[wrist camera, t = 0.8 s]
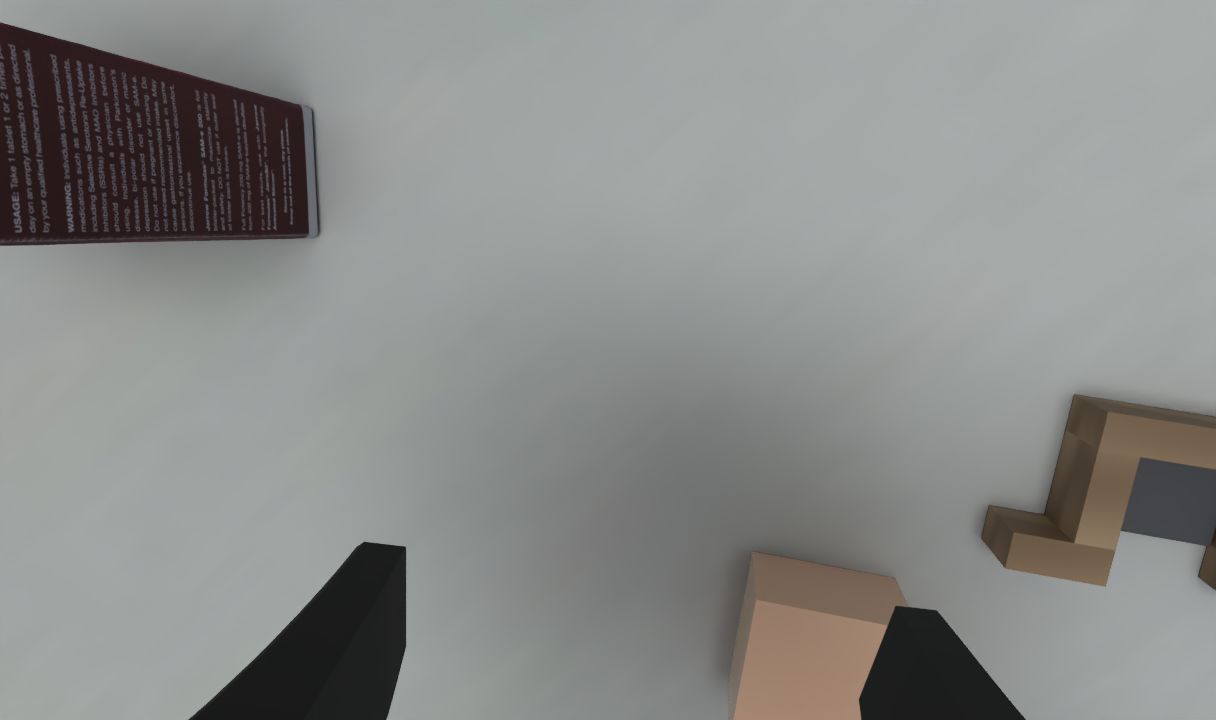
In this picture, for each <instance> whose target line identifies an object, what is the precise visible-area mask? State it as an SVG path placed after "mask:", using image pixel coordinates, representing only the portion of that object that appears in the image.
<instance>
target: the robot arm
mask: <svg viewBox="0 0 1216 720" xmlns="http://www.w3.org/2000/svg"><path fill="white" fill-rule="evenodd" d="M405 648H406V547H403V546H395V545H386V544H378V543H370V542H363V543H362V544H360V545H359V546H357V547H356V548H355V550H354V551H353V552H352V553H351V555H350V556H349V557H348V558H347V559H346V561H345V562H344V563H343V564H342V565H341V567H340V568H339V569H338V570H337V571H336V572H335V574H334V575H333V576H332V577H331V578H330V579H329V581H328V582H327V583H326V584H325V585H324V586H323V587H322V589H321V590H320V591H319V592H318V593H317V594H316V595H315V596H314V597H313V599H312V600H311V601H310V602H309V603H308V604H307V605H306V606H305V607H304V609H303V610H302V611H301V612H300V613H299V614H298V615H297V616H296V617H295V618H294V619H293V620H292V621H291V622H290V623H289V624H288V625H287V626H286V627H285V628H284V629H283V631H282V632H281V633H280V634H279V635H278V636H277V637H276V638H275V639H274V640H273V641H272V642H271V643H270V644H269V645H268V646H267V647H266V648H265V649H264V650H263V651H262V652H261V653H260V654H259V655H258V656H257V657H256V658H255V659H254V660H253V661H252V662H251V663H250V664H249V665H248V666H247V667H246V668H245V669H243V670H242V671H241V672H240V673H239V674H238V675H237V676H236V677H235V678H234V679H233V680H232V681H231V682H230V683H229V684H228V685H226V686H225V687H224V688H223V689H222V690H221V691H220V692H219V693H218V694H217V695H216V696H215V697H214V698H213V699H212V700H210V701H209V702H208V703H207V704H206V705H205V706H204V707H203V708H201V709H200V710H199V711H198V712H197V713H196V714H195V715H193V716H192V717H191V718H190V719H189V720H386V719H387V716H388V713H389V709H390V706H391V702H392V698H393V694H394V691H395V687H396V683H397V679H398V675H399V672H400V668H401V664H402V660H403V656H404V652H405ZM859 705H860V713H861V720H1026V719H1025V718H1024V717H1023V716H1022V715H1021V714H1020V712H1019V711H1018V710H1017V709H1016V708H1015V706H1014V705H1013V704H1012V703H1011V701H1010V700H1009V699H1008V698H1007V697H1006V695H1005V694H1004V693H1003V692H1002V691H1001V689H1000V688H999V687H998V686H997V684H996V683H995V682H994V681H993V679H992V678H991V677H990V676H989V674H988V673H987V672H986V671H985V670H984V668H983V667H982V666H981V665H980V663H979V662H978V661H977V660H976V658H975V657H974V656H973V655H972V653H971V652H970V651H969V650H968V648H967V647H966V646H965V645H964V643H963V642H962V641H961V640H960V638H959V637H958V636H957V635H956V633H955V632H954V631H953V630H952V628H951V627H950V626H949V625H948V624H947V622H946V621H945V620H944V619H943V617H942V616H941V615H940V614H939V613H938V611H937V610H928V609H920V608H912V607H903V606H895V608H894V611H893V614H892V616H891V619H890V621H889V624H888V626H887V629H886V631H885V634H884V636H883V639H882V641H881V644H880V647H879V649H878V652H877V654H876V657H875V659H874V662H873V664H872V667H871V669H870V672H869V674H868V677H867V680H866V682H865V685H864V687H863V690H862V692H861V695H860V697H859Z"/></svg>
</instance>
